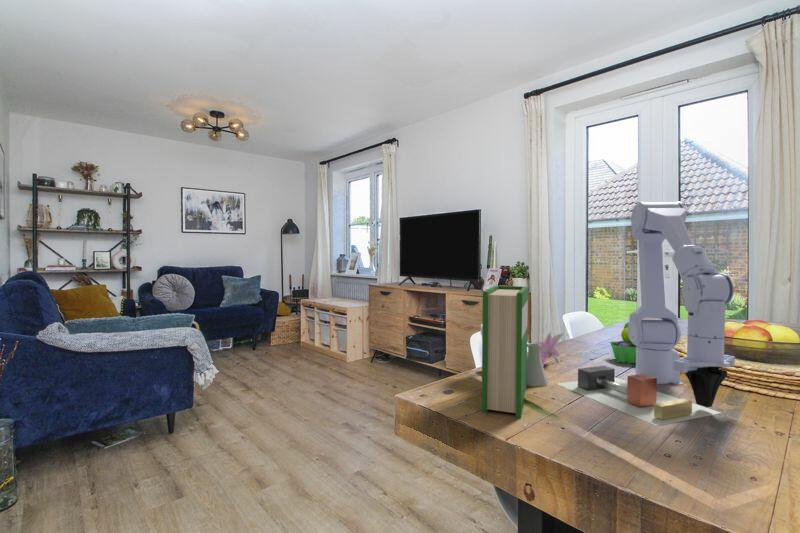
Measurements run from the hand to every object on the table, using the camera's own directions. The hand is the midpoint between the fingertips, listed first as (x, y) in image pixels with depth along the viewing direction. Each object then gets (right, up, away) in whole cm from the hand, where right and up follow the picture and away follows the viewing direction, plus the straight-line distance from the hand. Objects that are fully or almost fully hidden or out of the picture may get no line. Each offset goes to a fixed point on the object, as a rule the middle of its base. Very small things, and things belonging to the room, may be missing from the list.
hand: (704, 405), depth 78 cm
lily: (-18, -1, +35) cm, 39 cm away
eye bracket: (-14, -1, +14) cm, 20 cm away
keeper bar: (-8, -1, -3) cm, 9 cm away
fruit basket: (+10, -1, +41) cm, 42 cm away
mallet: (-13, 0, +9) cm, 16 cm away
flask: (-27, -2, +18) cm, 33 cm away
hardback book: (-36, -2, +8) cm, 37 cm away
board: (-10, -2, +8) cm, 13 cm away
